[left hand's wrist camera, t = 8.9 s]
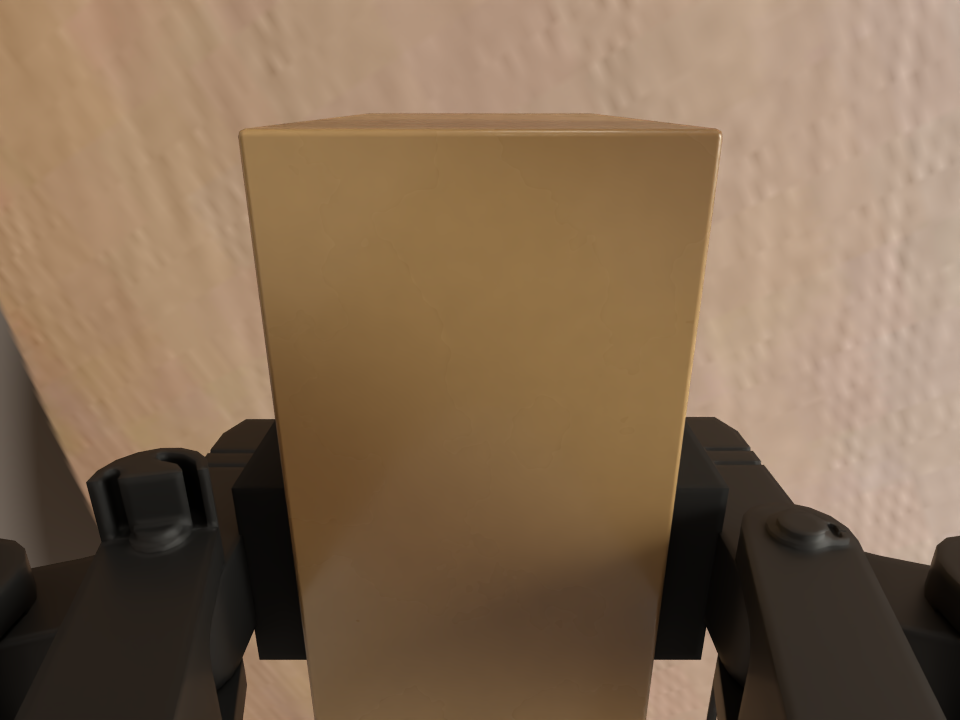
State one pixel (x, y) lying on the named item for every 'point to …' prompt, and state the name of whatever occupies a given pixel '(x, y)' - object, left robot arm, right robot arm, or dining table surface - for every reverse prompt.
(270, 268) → the bar
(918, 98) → the dining table surface
